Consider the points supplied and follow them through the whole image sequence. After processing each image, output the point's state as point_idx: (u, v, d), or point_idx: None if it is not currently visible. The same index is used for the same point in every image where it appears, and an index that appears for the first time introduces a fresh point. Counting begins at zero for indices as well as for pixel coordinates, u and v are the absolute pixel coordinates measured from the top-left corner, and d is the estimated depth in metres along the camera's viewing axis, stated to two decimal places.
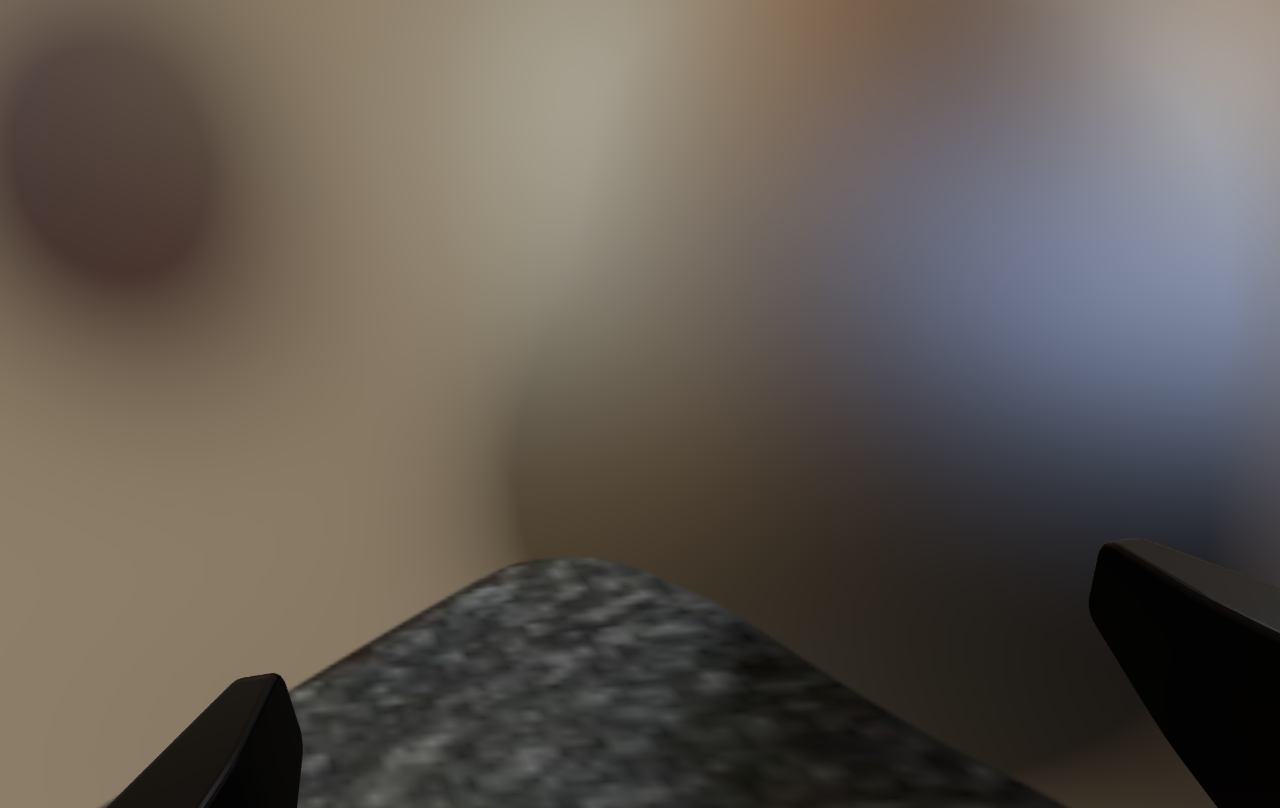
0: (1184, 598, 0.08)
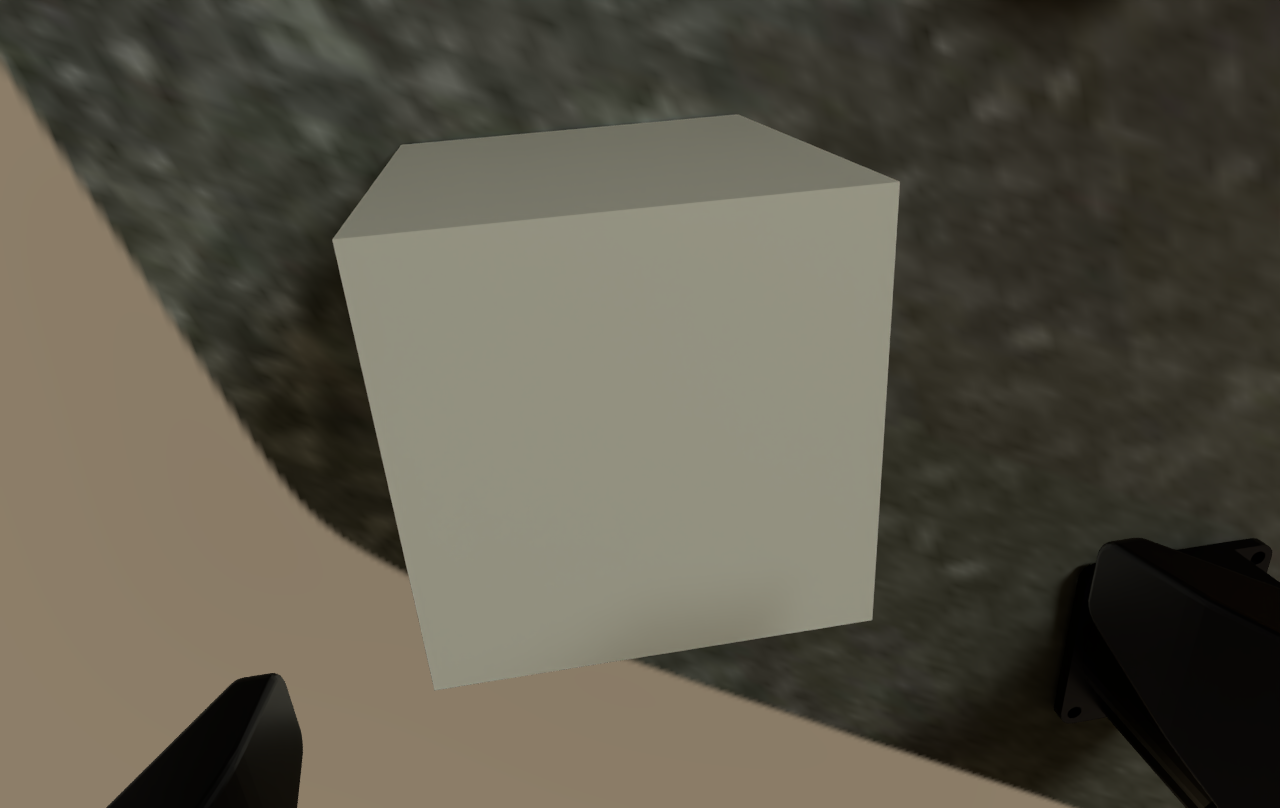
0: (1184, 598, 0.08)
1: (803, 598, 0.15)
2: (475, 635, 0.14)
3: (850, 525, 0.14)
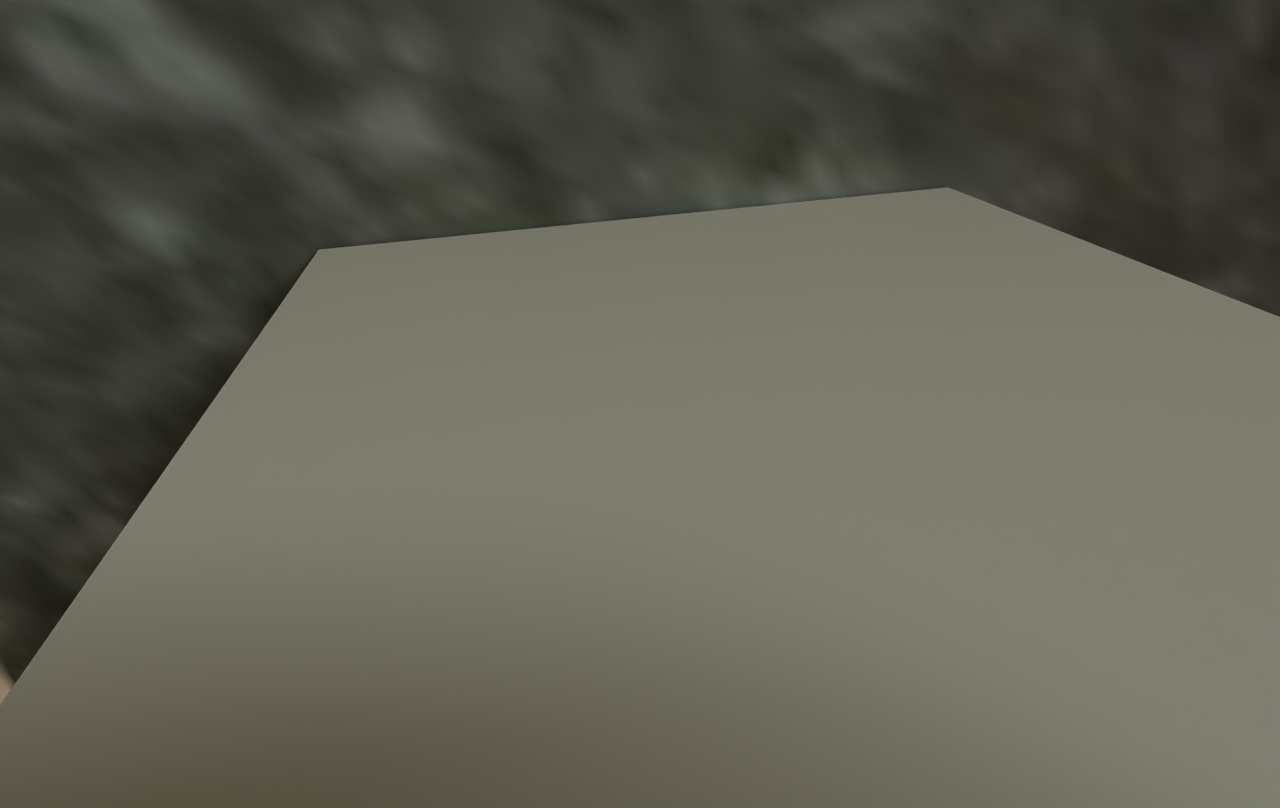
0: None
1: None
2: None
3: None
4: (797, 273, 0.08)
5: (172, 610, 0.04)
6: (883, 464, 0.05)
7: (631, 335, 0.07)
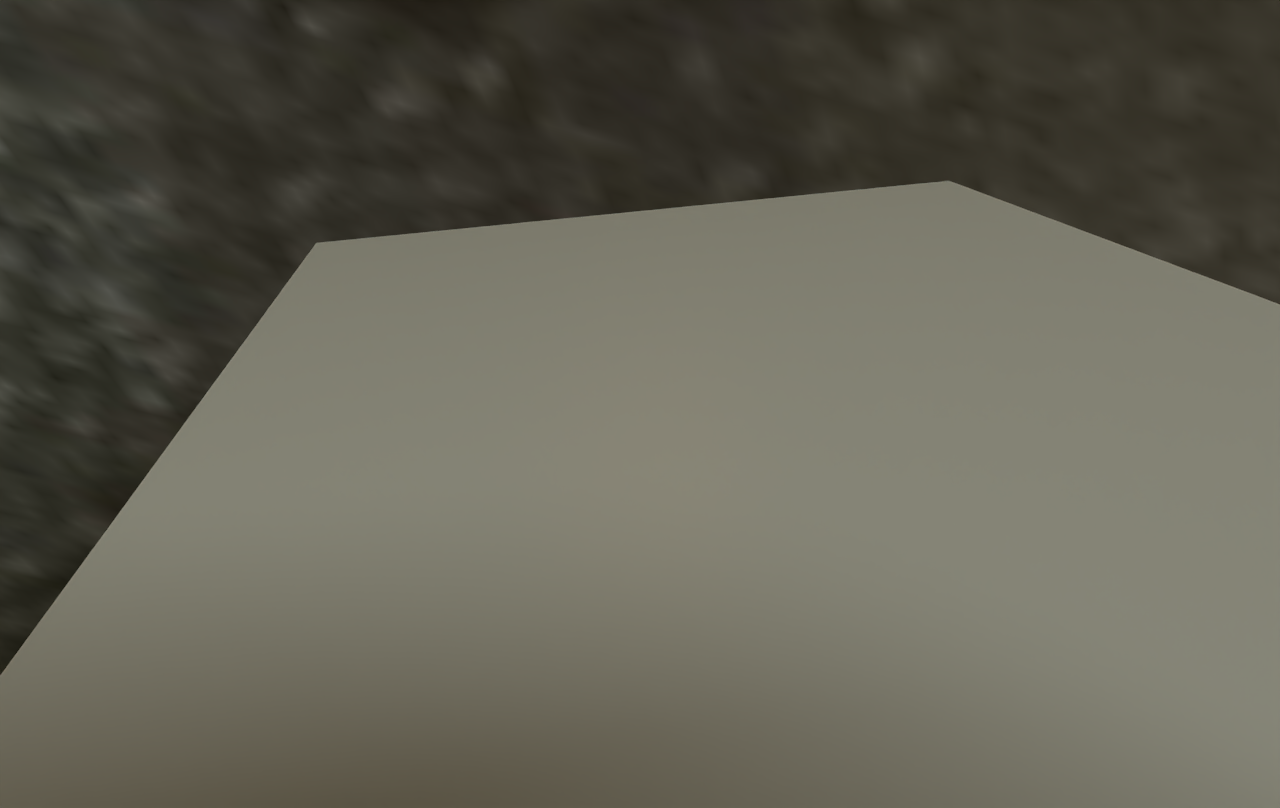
0: None
1: None
2: None
3: None
4: (797, 264, 0.08)
5: (164, 597, 0.04)
6: (885, 451, 0.05)
7: (630, 325, 0.07)
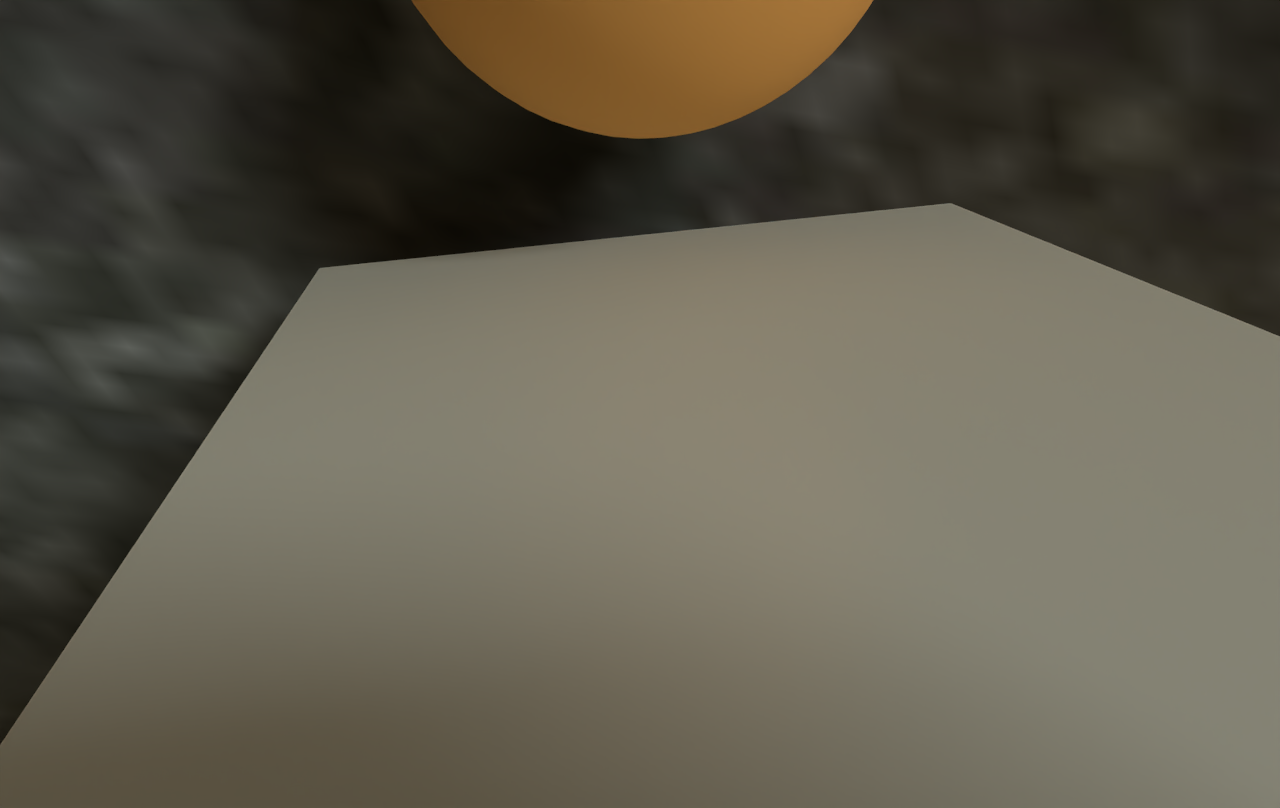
0: None
1: None
2: None
3: None
4: (800, 293, 0.08)
5: (170, 651, 0.04)
6: (890, 496, 0.05)
7: (634, 358, 0.07)
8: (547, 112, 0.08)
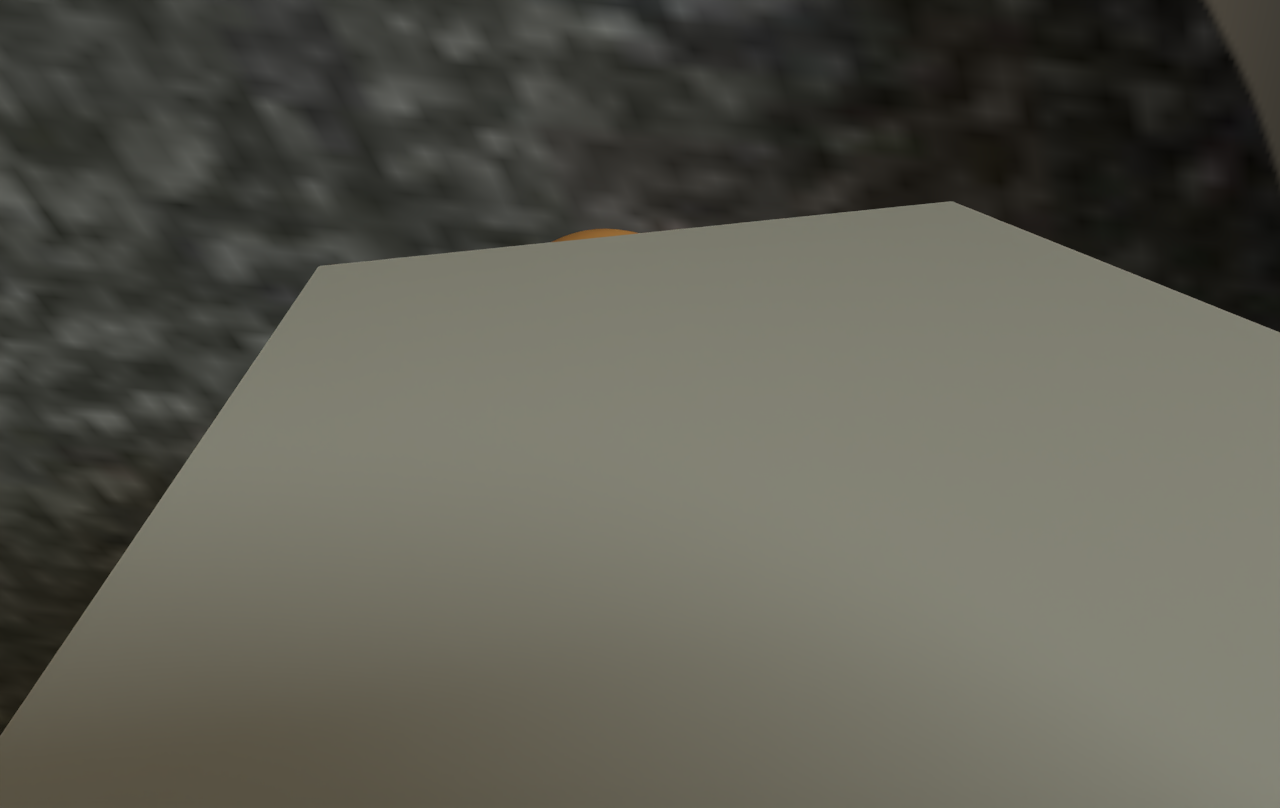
0: None
1: None
2: None
3: None
4: (801, 291, 0.08)
5: (167, 649, 0.04)
6: (893, 493, 0.05)
7: (634, 356, 0.07)
8: None
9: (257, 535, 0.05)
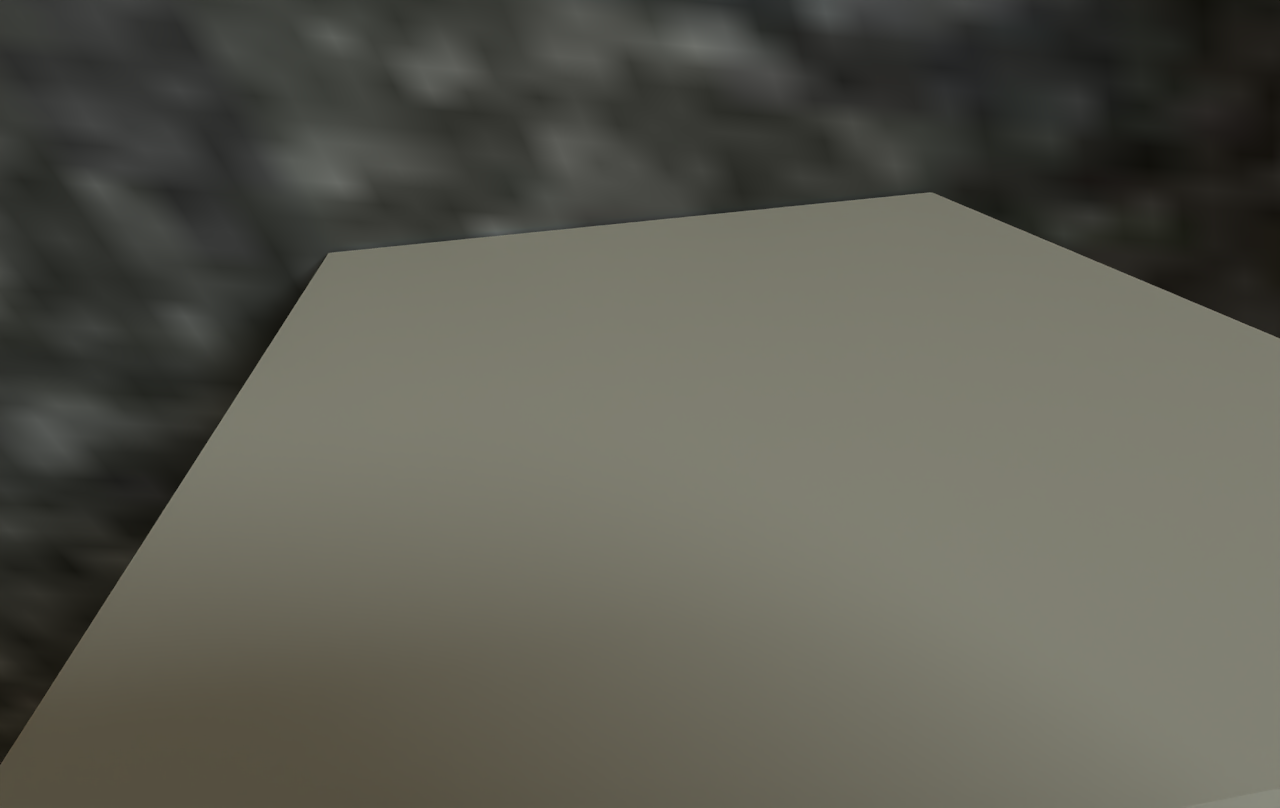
0: None
1: None
2: None
3: None
4: (783, 275, 0.08)
5: (212, 581, 0.04)
6: (853, 452, 0.05)
7: (626, 334, 0.07)
8: None
9: (286, 488, 0.05)
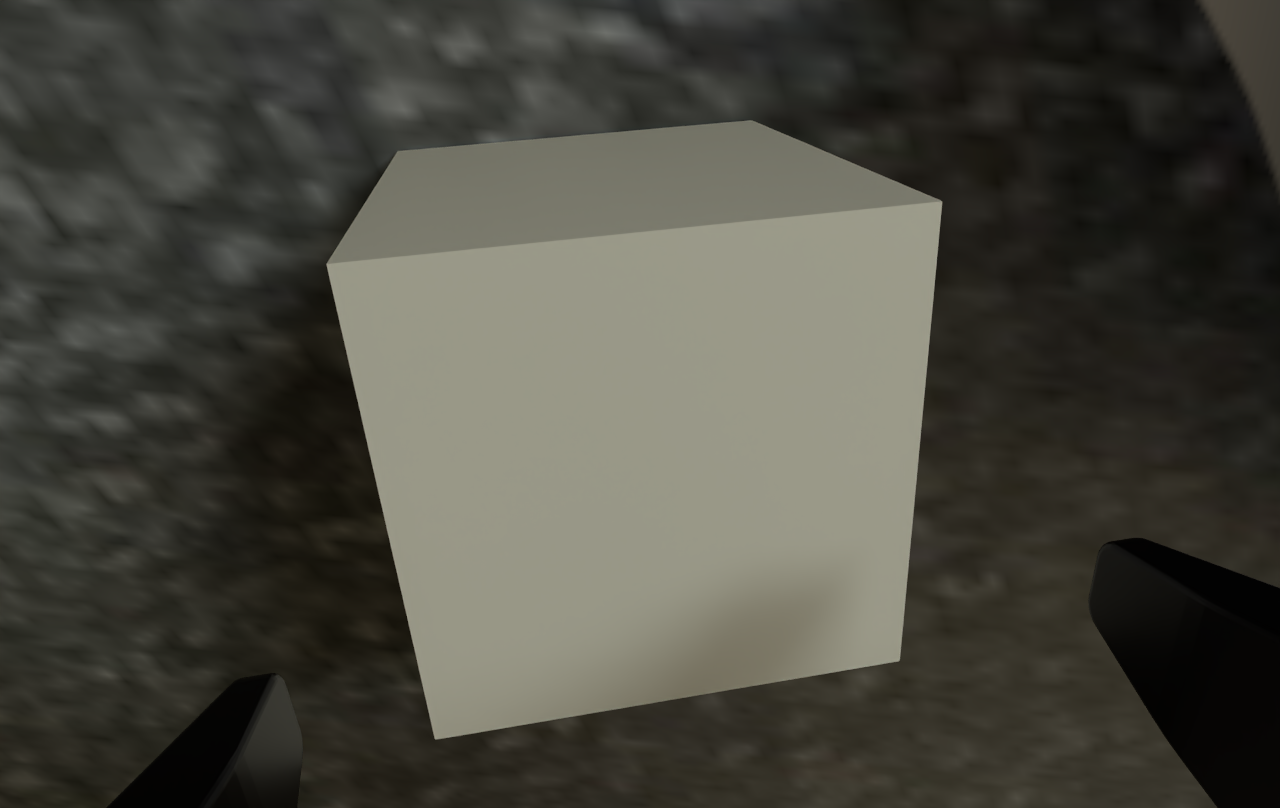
0: (1184, 598, 0.08)
1: (828, 639, 0.14)
2: (479, 682, 0.13)
3: (879, 563, 0.13)
4: (642, 150, 0.16)
5: (388, 219, 0.12)
6: (635, 189, 0.13)
7: (555, 168, 0.15)
8: None
9: (407, 204, 0.13)
